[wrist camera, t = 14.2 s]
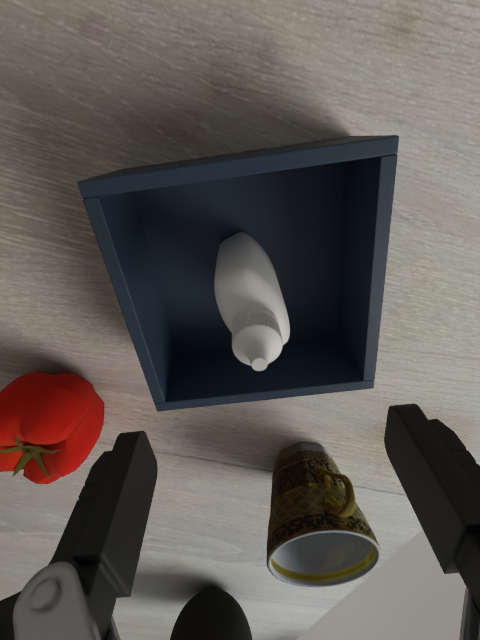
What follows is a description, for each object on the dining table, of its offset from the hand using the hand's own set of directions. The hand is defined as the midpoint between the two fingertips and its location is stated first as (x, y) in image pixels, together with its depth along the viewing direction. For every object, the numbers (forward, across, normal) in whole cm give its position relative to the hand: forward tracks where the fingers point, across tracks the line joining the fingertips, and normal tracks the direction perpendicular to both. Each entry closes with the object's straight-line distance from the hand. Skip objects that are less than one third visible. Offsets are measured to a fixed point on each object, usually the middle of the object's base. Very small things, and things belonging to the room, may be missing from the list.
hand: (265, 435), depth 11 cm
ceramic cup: (+17, -4, +23) cm, 29 cm away
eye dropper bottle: (+16, 0, 0) cm, 16 cm away
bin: (+16, 0, 0) cm, 17 cm away
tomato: (+17, +19, +11) cm, 28 cm away
